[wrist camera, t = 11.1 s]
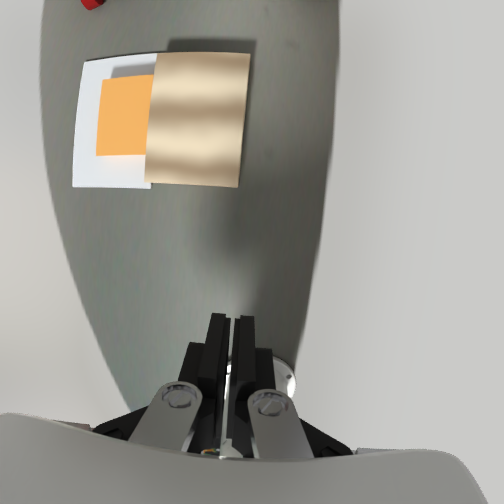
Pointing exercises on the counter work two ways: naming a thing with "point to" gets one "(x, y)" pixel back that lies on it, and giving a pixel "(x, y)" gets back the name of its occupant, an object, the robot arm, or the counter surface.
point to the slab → (124, 115)
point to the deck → (197, 118)
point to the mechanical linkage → (91, 3)
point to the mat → (84, 159)
